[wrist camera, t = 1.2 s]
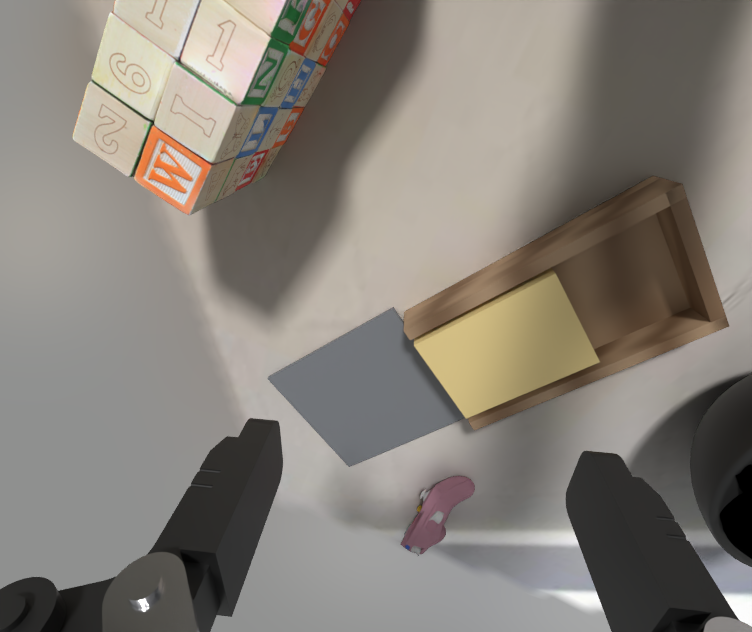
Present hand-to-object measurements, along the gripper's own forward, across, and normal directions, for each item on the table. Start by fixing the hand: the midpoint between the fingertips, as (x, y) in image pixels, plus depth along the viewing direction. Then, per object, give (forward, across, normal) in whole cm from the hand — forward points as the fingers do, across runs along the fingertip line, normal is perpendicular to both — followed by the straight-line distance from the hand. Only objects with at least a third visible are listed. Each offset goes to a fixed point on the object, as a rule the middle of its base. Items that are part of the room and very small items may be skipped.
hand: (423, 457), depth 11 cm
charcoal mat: (+24, +3, +18) cm, 29 cm away
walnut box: (+24, -12, +6) cm, 27 cm away
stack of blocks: (+24, +9, -13) cm, 29 cm away
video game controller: (+24, -5, +32) cm, 40 cm away
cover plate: (+23, -8, +9) cm, 26 cm away
